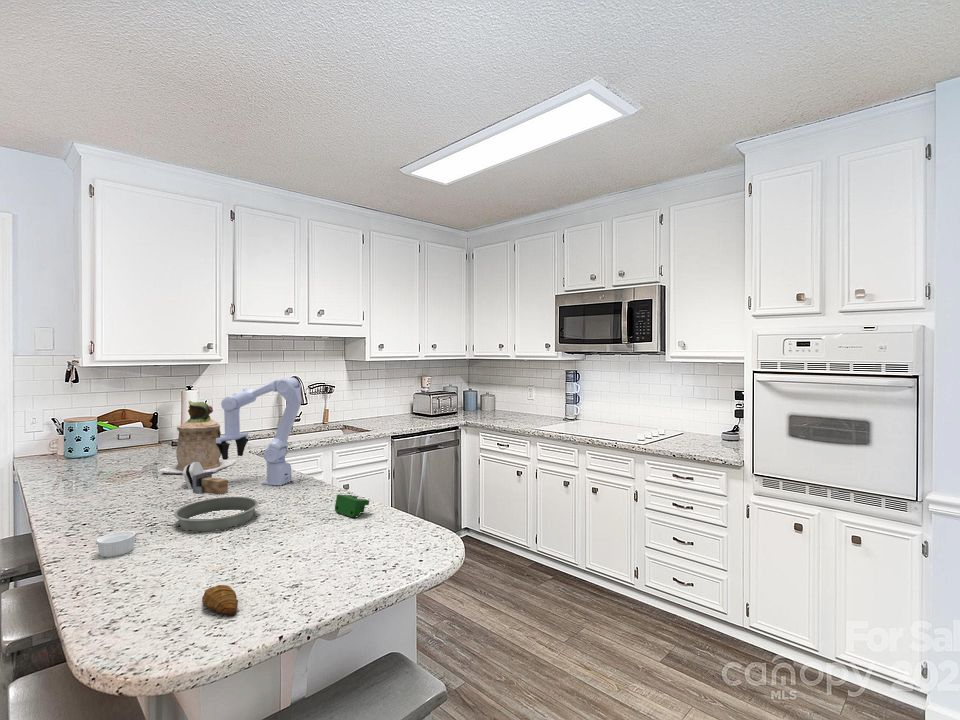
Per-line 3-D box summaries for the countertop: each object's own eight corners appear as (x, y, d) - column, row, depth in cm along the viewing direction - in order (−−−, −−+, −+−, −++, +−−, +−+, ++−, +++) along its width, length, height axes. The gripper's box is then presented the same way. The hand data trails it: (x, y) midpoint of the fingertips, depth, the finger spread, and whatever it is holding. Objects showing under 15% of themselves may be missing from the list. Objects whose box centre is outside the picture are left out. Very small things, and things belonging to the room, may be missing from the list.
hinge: (202, 488, 211) (192, 465, 210) (190, 493, 210) (180, 470, 209) (210, 478, 227) (201, 457, 226) (199, 482, 226) (189, 461, 225)
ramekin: (106, 560, 140) (105, 544, 140) (91, 554, 144) (90, 538, 144) (142, 549, 147) (141, 534, 147) (126, 543, 152) (126, 528, 152)
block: (227, 492, 205) (227, 479, 205) (219, 494, 201) (219, 481, 201) (209, 489, 209) (209, 476, 209) (201, 492, 206) (201, 479, 205)
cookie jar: (212, 474, 233) (210, 403, 233) (157, 475, 234) (155, 403, 233) (238, 462, 258) (236, 397, 257) (188, 463, 258) (186, 398, 257)
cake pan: (155, 528, 165) (155, 514, 165) (219, 506, 188) (219, 493, 188) (215, 538, 156) (215, 523, 156) (274, 513, 179) (274, 500, 179)
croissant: (191, 603, 116) (190, 580, 116) (223, 592, 122) (222, 571, 121) (215, 624, 107) (215, 600, 107) (248, 612, 112) (248, 589, 112)
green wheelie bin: (362, 527, 177) (373, 504, 176) (347, 527, 172) (359, 503, 171) (346, 506, 185) (356, 484, 184) (331, 506, 180) (342, 483, 179)
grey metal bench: (217, 489, 209) (217, 472, 209) (201, 493, 203) (201, 476, 203) (208, 487, 211) (208, 471, 211) (192, 492, 205) (192, 475, 205)
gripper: (239, 422, 227) (239, 453, 228) (210, 427, 214) (210, 460, 214) (251, 423, 225) (252, 454, 225) (222, 428, 211) (223, 461, 212)
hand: (232, 457), depth 219 cm, fingers open, 7 cm apart
